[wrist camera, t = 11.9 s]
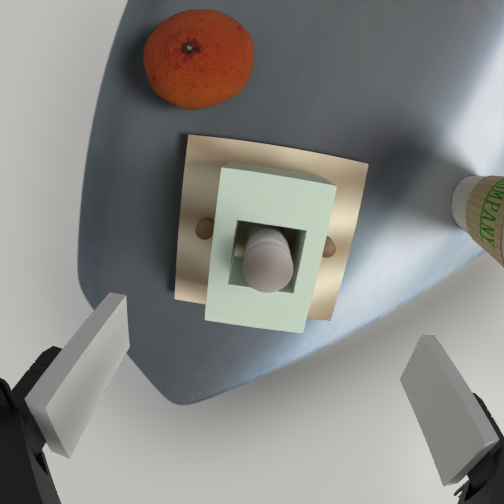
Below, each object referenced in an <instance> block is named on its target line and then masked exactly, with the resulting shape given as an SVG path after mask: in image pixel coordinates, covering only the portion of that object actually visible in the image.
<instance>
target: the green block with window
mask: <svg viewBox="0 0 504 504" xmlns="http://www.w3.org/2000/svg"><path fill="white" fill-rule="evenodd" d="M336 189H337V186H336V185H335V184H333V183H331V182H330V181H328V180H327V179H325V178H324V177H322V176H318V175H312V174H307V173H301V172H296V171H290V170H284V169H278V168H271V167H265V166H258V165H252V164H244V163H237V162H229V163H227V164H226V165H224V166H223V167H221V174H220V182H219V190H218V198H217V206H216V215H215V223H214V232H213V241H212V250H211V259H210V269H209V279H208V289H207V300H206V311H205V320H208V321H214V322H221V323H228V324H234V325H241V326H248V327H256V328H263V329H271V330H279V331H288V332H297V333H303V330H304V326H305V323H306V319H307V315H308V311H309V308H310V304H311V300H312V296H313V292H314V288H315V284H316V280H317V276H318V272H319V267H320V263H321V259H322V255H323V250H324V246H325V241H326V237H327V232H328V228H329V223H330V218H331V214H332V209H333V204H334V199H335V194H336ZM239 220H241V221H248V222H254V223H261V224H268V225H274V226H281V227H287V228H294V234H293V239H292V245H291V250H290V254H291V259H292V263H293V275H292V278H291V280H290V282H289V283H288V284H287V285H286V286H285V287H284V288H282V289H281V290H279V291H276V292H271V293H264V292H259V291H257V290H255V289H253V288H252V287H250V286H249V285H248V284H247V282H246V281H245V279H244V276H243V272H242V267H243V260H244V257H238V256H234V255H235V247H236V240H237V233H238V225H239Z"/></svg>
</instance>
